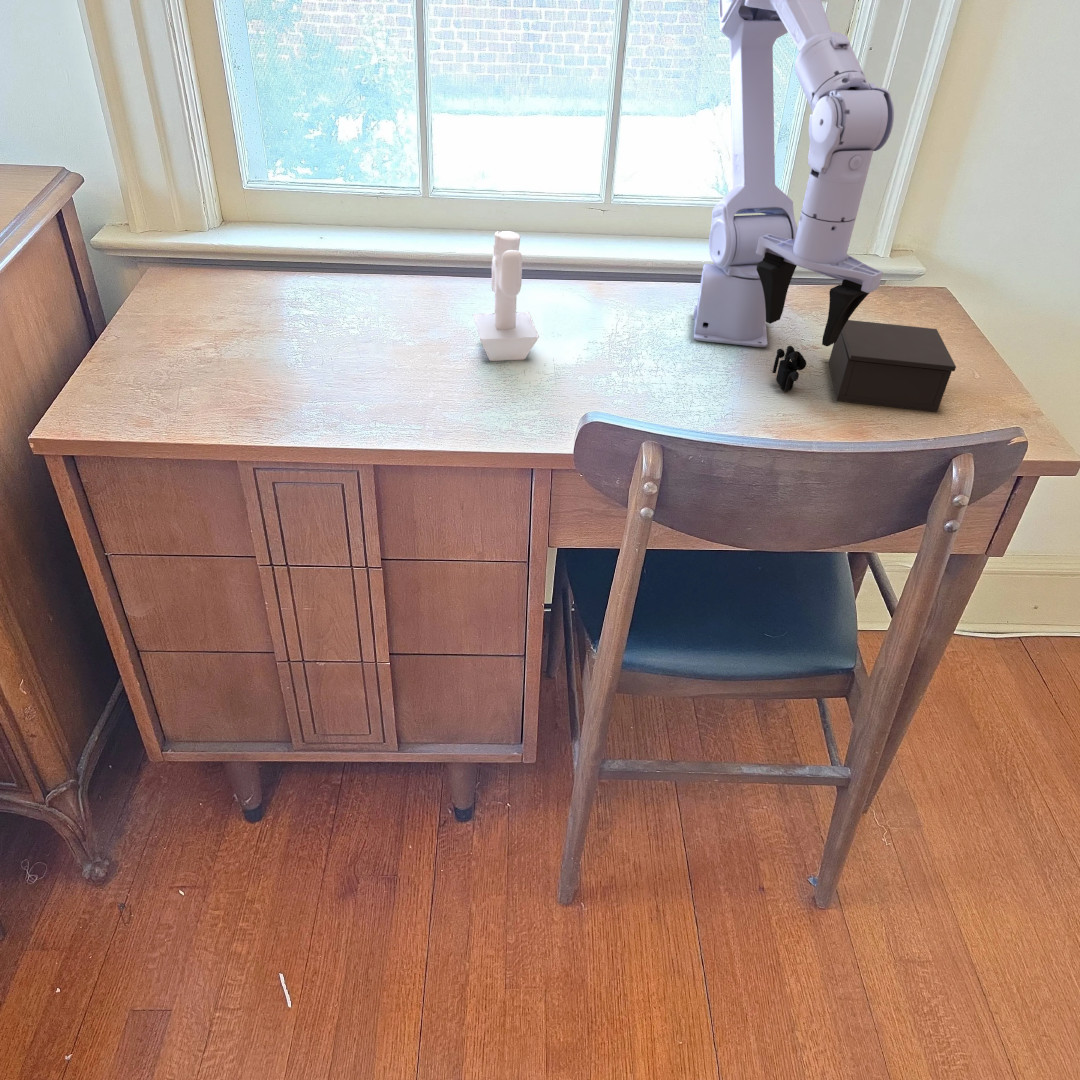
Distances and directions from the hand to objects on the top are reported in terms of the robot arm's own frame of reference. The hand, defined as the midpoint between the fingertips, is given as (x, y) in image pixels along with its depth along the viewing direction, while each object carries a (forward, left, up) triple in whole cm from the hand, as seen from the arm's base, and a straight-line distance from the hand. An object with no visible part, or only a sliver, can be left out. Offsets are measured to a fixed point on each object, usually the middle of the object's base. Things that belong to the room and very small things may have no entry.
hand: (800, 331), depth 104 cm
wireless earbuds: (0, 0, -8) cm, 8 cm away
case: (+11, +3, -7) cm, 14 cm away
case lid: (+12, +3, -2) cm, 12 cm away
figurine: (-35, +1, -8) cm, 36 cm away
